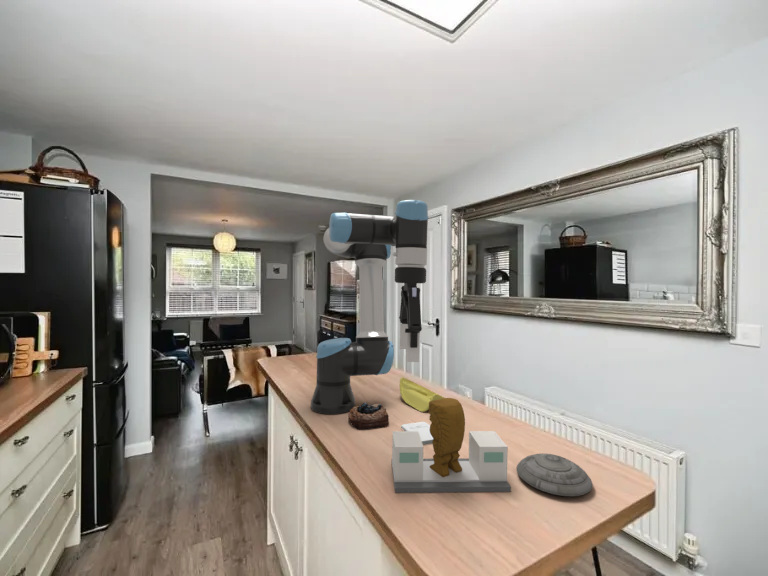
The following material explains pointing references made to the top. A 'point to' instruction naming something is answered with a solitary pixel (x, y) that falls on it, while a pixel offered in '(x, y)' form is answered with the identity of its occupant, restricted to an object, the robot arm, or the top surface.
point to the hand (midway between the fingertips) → (408, 354)
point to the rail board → (477, 472)
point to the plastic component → (417, 395)
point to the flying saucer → (554, 475)
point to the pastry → (368, 416)
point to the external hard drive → (420, 431)
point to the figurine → (446, 434)
